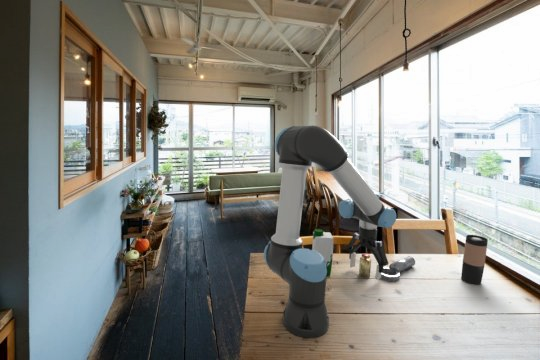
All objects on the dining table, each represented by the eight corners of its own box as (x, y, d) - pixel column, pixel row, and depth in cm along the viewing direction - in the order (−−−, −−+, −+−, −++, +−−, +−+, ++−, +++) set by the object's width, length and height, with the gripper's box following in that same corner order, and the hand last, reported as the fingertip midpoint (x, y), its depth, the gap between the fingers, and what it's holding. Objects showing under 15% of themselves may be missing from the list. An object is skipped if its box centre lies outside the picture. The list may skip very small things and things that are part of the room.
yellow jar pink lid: (365, 279, 121) (367, 258, 119) (356, 275, 125) (357, 254, 123) (372, 276, 124) (373, 255, 122) (363, 272, 127) (364, 252, 126)
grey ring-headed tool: (391, 283, 118) (392, 273, 117) (372, 274, 125) (373, 264, 125) (419, 269, 132) (420, 260, 131) (401, 262, 139) (402, 253, 138)
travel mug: (474, 277, 125) (480, 235, 122) (486, 286, 117) (492, 241, 114) (456, 276, 126) (462, 234, 123) (466, 285, 118) (472, 240, 115)
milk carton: (310, 267, 131) (312, 227, 128) (329, 268, 131) (331, 227, 128) (312, 276, 122) (314, 233, 119) (333, 277, 122) (335, 234, 119)
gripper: (400, 233, 113) (395, 281, 116) (350, 218, 133) (347, 260, 136) (389, 236, 109) (385, 287, 112) (340, 221, 129) (337, 263, 132)
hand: (364, 272), depth 124 cm, fingers open, 13 cm apart
